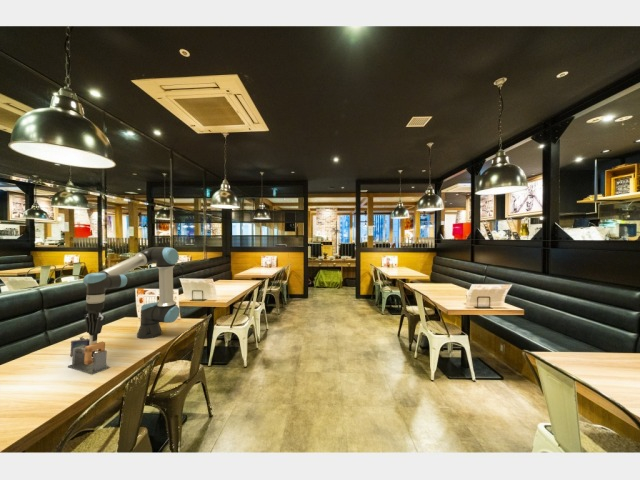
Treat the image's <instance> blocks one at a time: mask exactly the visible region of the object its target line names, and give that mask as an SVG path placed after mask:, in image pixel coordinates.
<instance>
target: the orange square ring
mask: <svg viewBox="0 0 640 480" xmlns="http://www.w3.org/2000/svg"><path fill="white" fill-rule="evenodd" d="M95 350H97V351H103V350H106V341H99V342H97V343H95V344H92V345H89V346H85V359H84V364H85V365H89V364H91V363H93V357H92V351H95Z"/></svg>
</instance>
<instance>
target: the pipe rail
mask: <svg viewBox="0 0 640 480" xmlns="http://www.w3.org/2000/svg"><path fill="white" fill-rule="evenodd" d="M85 346H86V345H82V346H79V347H76V348H73V356H71V358H72V359H71V364H70V365H68V366H67V368H70V369H72V370H76V371H80V372H82V373H86V374H89V375H95V374H97V373H100V372H102V371H105V370H107V369H110V368H111V366H109V365H107V356H108V355H107V354H108V353H107V352H108V350H107V349H105V350H103V351H98V350H95V351H92V358H93V363H91V364H89V365H85V364H84V359H85Z"/></svg>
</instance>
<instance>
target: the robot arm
mask: <svg viewBox="0 0 640 480" xmlns="http://www.w3.org/2000/svg"><path fill="white" fill-rule="evenodd" d="M179 258H180V257H179V253H178V251H177V250H176V249H175V248H173V247H166V246H164V247H163V246H162V247H161V246H152V247H149V248H146V249H144V250H141V251H139V252H136V253H135V255H134V256H130V257H129V258H127V259H125V260H122V261H120V262H118V263H116V264H114V265H111V266H110V267H107V268H105V269H103V270H101V271H99V272H98V271H97V272H92V273H88V274H86V275H85V276H84V278H83V280H82V281H83V284H84V285H85V286H86V298H85V299H86V300H85V302H86V303H85V310H86V312H87V313H86V314H84V315H83V317H84V320H85V329H86V334H88V335H89V338H88V339H89V345H92V344H95V343H98V335H100V334H101V333H102V330H103V324H104V320H105V319H106V316H105V315H103V313H102V310H104V308H105V300H106V298H105V297H106V290H111V289H120V288H123V287H126V285H127V284H128V278H127V276H126V275H125V274H126V273H129V272H130V271H132V270H133V271H134V270H135V269H136V268H138V267H141V266H146V265H149V264H155V266H156V268H157V269H158V281H159V282H158V283H159V284H158V286H159V287H158V289H159V294H158V295H159V301H158V302H157V301H156V302H149V303H145V304H142V305H141V308H140V323H139V324H140V325H139V328H138V330H137V333H136V337H137V338H138V339H151V338H152V337H153V338H156V337H158V335H159V336H161V335H162V334H161V333H162V332H163V331H162V328H161V324H160V323H166V324H168V323H171V324H172V323H174V322H175V321H177V319H178V318H179V316H180V312H181V311H180V306H177V302H176V301H175V300H174V274H173V273H174V268H175V266H176V264H177V263H179V262H178V261H179ZM160 334H161V335H160ZM155 336H156V337H155Z"/></svg>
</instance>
